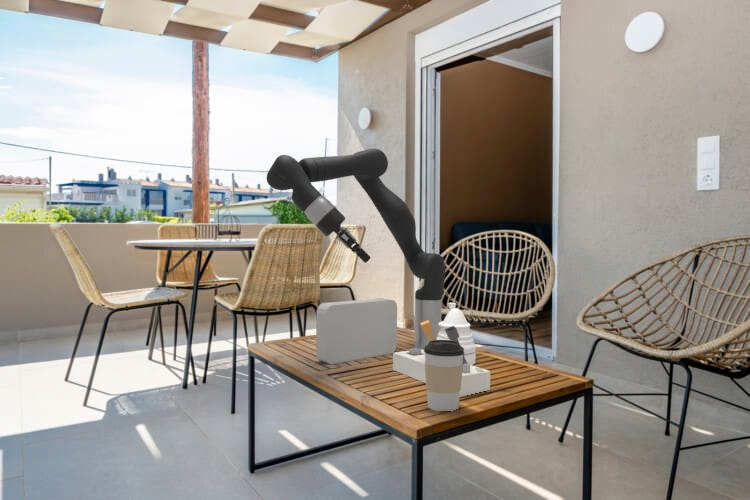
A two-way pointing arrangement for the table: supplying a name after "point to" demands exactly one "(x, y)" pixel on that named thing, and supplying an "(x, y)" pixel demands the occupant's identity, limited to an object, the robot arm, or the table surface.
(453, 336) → the charcoal paddle
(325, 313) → the rounded white slab
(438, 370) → the coffee cup
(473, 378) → the white rectangular tray
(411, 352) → the grey button
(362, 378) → the table surface
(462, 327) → the honey pot
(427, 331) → the orange paddle
